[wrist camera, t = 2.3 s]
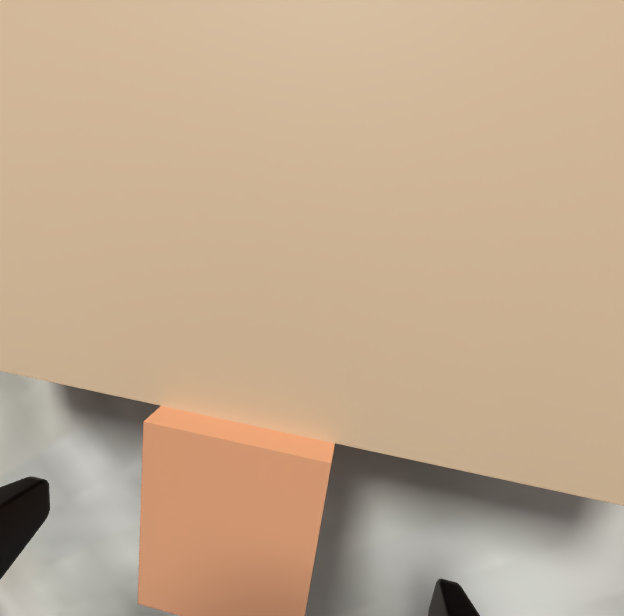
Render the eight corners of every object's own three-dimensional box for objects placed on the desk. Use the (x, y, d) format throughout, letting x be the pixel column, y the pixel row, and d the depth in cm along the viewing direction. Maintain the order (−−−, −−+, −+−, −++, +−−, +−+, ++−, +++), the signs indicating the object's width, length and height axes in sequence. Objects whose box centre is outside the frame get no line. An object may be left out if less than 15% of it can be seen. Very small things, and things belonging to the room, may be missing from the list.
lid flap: (578, 640, 10) (624, 741, 8) (-33, 483, 12) (-109, 534, 10) (885, -91, 6) (1116, -228, 4) (-98, -136, 8) (-240, -241, 6)
